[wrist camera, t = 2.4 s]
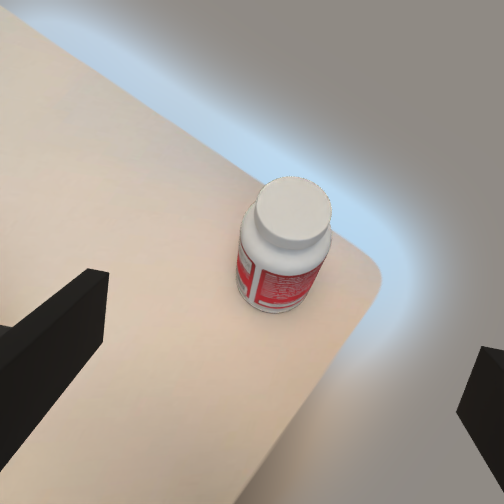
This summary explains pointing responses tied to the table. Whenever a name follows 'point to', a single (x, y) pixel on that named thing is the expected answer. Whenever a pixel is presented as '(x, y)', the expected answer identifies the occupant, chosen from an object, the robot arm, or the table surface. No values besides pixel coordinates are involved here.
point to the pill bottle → (283, 244)
